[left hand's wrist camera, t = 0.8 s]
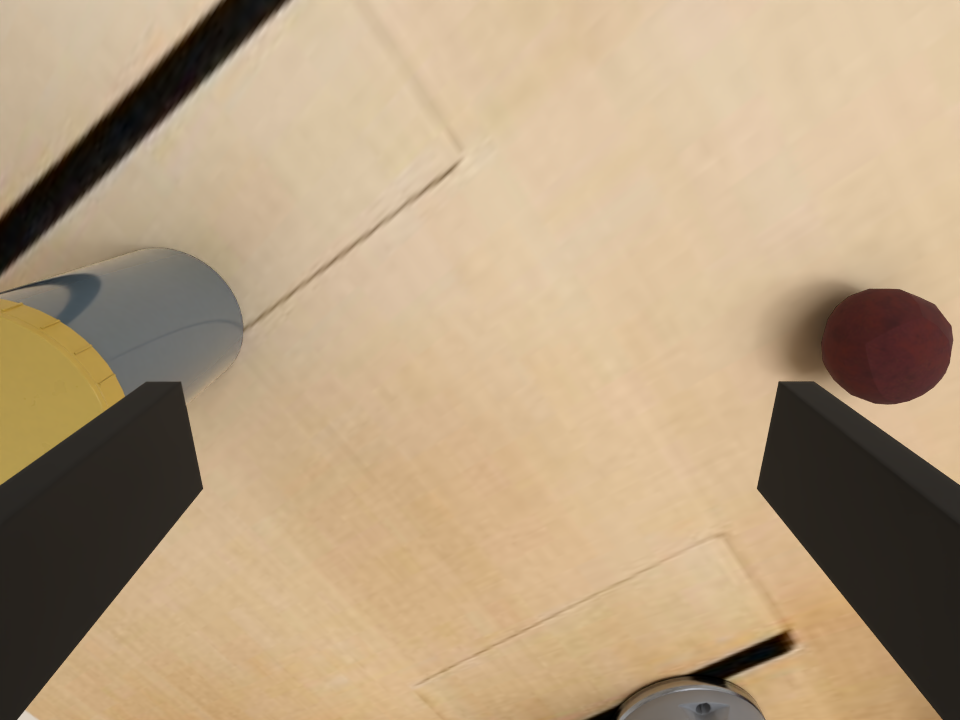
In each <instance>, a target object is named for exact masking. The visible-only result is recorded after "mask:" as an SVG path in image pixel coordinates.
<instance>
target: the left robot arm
mask: <svg viewBox="0 0 960 720" xmlns="http://www.w3.org/2000/svg"><path fill="white" fill-rule="evenodd" d="M202 489H203V486H202V481H201V476H200V471H199V466H198V461H197V457H196V452H195V447H194V442H193V437H192V432H191V427H190V422H189V417H188V413H187V408H186V403H185V398H184V393H183V388H182V383H181V382H145V383H143V384H142V385H141V386H139V387H138V388H136V389H135V390H134V391H132V392H131V393H129V394H128V395H127V396H125V397H124V398H122V399H121V400H120V401H118V402H117V403H115V404H114V405H112V406H111V407H110V408H108V409H107V410H105V411H104V412H103V413H101V414H100V415H98V416H97V417H96V418H94V419H93V420H91V421H90V422H89V423H87V424H86V425H84V426H83V427H81V428H80V429H79V430H77V431H76V432H74V433H73V434H72V435H70V436H69V437H67V438H66V439H65V440H63V441H62V442H60V443H59V444H58V445H56V446H55V447H53V448H52V449H51V450H49V451H48V452H46V453H45V454H43V455H42V456H41V457H39V458H38V459H36V460H35V461H34V462H32V463H31V464H29V465H28V466H27V467H25V468H24V469H22V470H21V471H20V472H18V473H17V474H15V475H14V476H12V477H11V478H10V479H8V480H7V481H5V482H4V483H3V484H1V485H0V720H17V719H18V718H19V717H20V715H21V714H22V713H23V712H24V710H25V709H26V708H27V707H28V705H29V704H30V703H31V702H32V701H33V699H34V698H35V697H36V696H37V694H38V693H39V692H40V691H41V689H42V688H43V687H44V686H45V684H46V683H47V682H48V681H49V679H50V678H51V677H52V676H53V674H54V673H55V672H56V671H57V669H58V668H59V667H60V666H61V665H62V663H63V662H64V661H65V660H66V658H67V657H68V656H69V655H70V653H71V652H72V651H73V650H74V648H75V647H76V646H77V645H78V643H79V642H80V641H81V640H82V638H83V637H84V636H85V635H86V633H87V632H88V631H89V630H90V628H91V627H92V626H93V625H94V624H95V622H96V621H97V620H98V619H99V617H100V616H101V615H102V614H103V612H104V611H105V610H106V609H107V607H108V606H109V605H110V604H111V602H112V601H113V600H114V599H115V597H116V596H117V595H118V594H119V592H120V591H121V590H122V589H123V587H124V586H125V585H126V584H127V583H128V581H129V580H130V579H131V578H132V576H133V575H134V574H135V573H136V571H137V570H138V569H139V568H140V566H141V565H142V564H143V563H144V561H145V560H146V559H147V558H148V556H149V555H150V554H151V553H152V551H153V550H154V549H155V548H156V546H157V545H158V544H159V543H160V542H161V540H162V539H163V538H164V537H165V535H166V534H167V533H168V532H169V530H170V529H171V528H172V527H173V525H174V524H175V523H176V522H177V520H178V519H179V518H180V517H181V515H182V514H183V513H184V512H185V510H186V509H187V508H188V507H189V506H190V504H191V503H192V502H193V501H194V499H195V498H196V497H197V496H198V494H199V493H200V492H201V491H202ZM757 489H758V491H759V492H760V493H761V494H762V496H763V497H764V498H765V499H766V501H767V502H768V503H769V504H770V506H771V507H772V508H773V509H774V510H775V512H776V513H777V514H778V515H779V517H780V518H781V519H782V520H783V522H784V523H785V524H786V525H787V527H788V528H789V529H790V530H791V532H792V533H793V534H794V535H795V537H796V538H797V539H798V540H799V542H800V543H801V544H802V545H803V546H804V548H805V549H806V550H807V551H808V553H809V554H810V555H811V556H812V558H813V559H814V560H815V561H816V563H817V564H818V565H819V566H820V568H821V569H822V570H823V571H824V573H825V574H826V575H827V576H828V578H829V579H830V580H831V581H832V583H833V584H834V585H835V586H836V587H837V589H838V590H839V591H840V592H841V594H842V595H843V596H844V597H845V599H846V600H847V601H848V602H849V604H850V605H851V606H852V607H853V609H854V610H855V611H856V612H857V614H858V615H859V616H860V617H861V619H862V620H863V621H864V622H865V624H866V625H867V626H868V627H869V628H870V630H871V631H872V632H873V633H874V635H875V636H876V637H877V638H878V640H879V641H880V642H881V643H882V645H883V646H884V647H885V648H886V650H887V651H888V652H889V653H890V655H891V656H892V657H893V658H894V660H895V661H896V662H897V663H898V665H899V666H900V667H901V668H902V669H903V671H904V672H905V673H906V674H907V676H908V677H909V678H910V679H911V681H912V682H913V683H914V684H915V686H916V687H917V688H918V689H919V691H920V692H921V693H922V694H923V696H924V697H925V698H926V699H927V701H928V702H929V703H930V704H931V705H932V707H933V708H934V709H935V710H936V712H937V713H938V714H939V715H940V717H941V718H942V719H943V720H960V485H959V484H957V483H956V482H955V481H953V480H952V479H950V478H949V477H948V476H946V475H945V474H943V473H942V472H940V471H939V470H938V469H936V468H935V467H933V466H932V465H931V464H929V463H928V462H926V461H925V460H924V459H922V458H921V457H919V456H918V455H917V454H915V453H914V452H912V451H911V450H909V449H908V448H907V447H905V446H904V445H902V444H901V443H900V442H898V441H897V440H895V439H894V438H893V437H891V436H890V435H888V434H887V433H886V432H884V431H883V430H881V429H880V428H879V427H877V426H876V425H874V424H873V423H871V422H870V421H869V420H867V419H866V418H864V417H863V416H862V415H860V414H859V413H857V412H856V411H855V410H853V409H852V408H850V407H849V406H848V405H846V404H845V403H843V402H842V401H840V400H839V399H838V398H836V397H835V396H833V395H832V394H831V393H829V392H828V391H826V390H825V389H824V388H822V387H821V386H819V385H818V384H817V383H815V382H779V383H778V388H777V393H776V398H775V403H774V408H773V413H772V417H771V422H770V427H769V432H768V437H767V442H766V447H765V452H764V457H763V461H762V466H761V471H760V476H759V481H758V486H757Z"/></svg>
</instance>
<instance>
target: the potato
mask: <svg viewBox="0 0 960 720" xmlns="http://www.w3.org/2000/svg"><path fill="white" fill-rule="evenodd" d="M821 344H822V357H823V362H824V364H825V367H826V368H827V370H828V372H829V373H830V375H831V376H832V378H833V379H834V380H835V381H836V382H837V383H838V384H839V385H840V386H841V387H842V388H844V389H845V390H846V391H847V392H848V393H850V394H851V395H853V396H856V397H859V398H861V399H864V400H867V401H869V402H872V403H875V404H898V403H902V402H907V401H910V400H912V399H915V398H917V397H919V396H922V395H923V394H925V393H926V392H928V391H929V390H931V389H932V388H933V387H934V386H935V385H936V384H937V383H938V382H939V381H940V380H941V379H942V377H943V376H944V374H945V373H946V371H947V368H948V366H949V363H950V357H951V350H952V344H953V335H952V327H951V325H950V324H949V322H948V321H947V320H946V318H945V317H944V316H943V314H942V313H941V312H940V310H939V309H938V308H937V307H936V305H935V304H933V303H931V302H929V301H926V300H924V299H922V298H920V297H918V296H915V295H913V294H910V293H908V292H905V291H903V290H900V289H868V290H865V291H862V292H859V293H856V294H854V295H851V296H849V297H847V298H846V299H845V300H844V301H843V302H841V303H840V304H839V305H838V306H837V307H836V308H835V309H834V311H833V312H832V314H831V315H830V317H829V318H828V321H827V324H826V328H825V331H824V335H823V338H822V342H821Z"/></svg>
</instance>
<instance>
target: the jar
mask: <svg viewBox="0 0 960 720" xmlns="http://www.w3.org/2000/svg"><path fill="white" fill-rule="evenodd" d="M0 299H4V300H9V301H13V302H16V303H20V302H21V303H23V304H24V305H26V306H29V307H32V308H34V309H37V310H40V311H42V312H44V313H46V314H47V315H49V316H51V317H53V318H55V319H57V320H58V319H59V320H60V322H62V323H63V324H65V325H66V326H68V327H70V328H71V329H72V330H74V331H75V332H76V333H77V334H79V335H80V336H81V337H82V338H84V339H85V340H86V341H87V342H88V343H89V344H91V345H92V347H93V348H94V349H95V350H96V351H97V352H98V353H99V354H100V356H101V357H102V358H103V359H104V360H105V362H106V363H107V364H108V366H109V367H110V369H111V370H112V372H113V373H114V374H115V375H116V378H117V380H118V382H119V384H120V386H121V388H122V390H123V392H124V395H125V396H127V395H128V394H129V393H131V392H132V391H134V390H135V389H136V388H138V387H139V386H141V385H142V384H143V383H145V382H181V383H182V388H183V393H184V398H185V403H186V406H187V405H188V404H189V403H190V402H191V401H192V400H193V399H195V398H196V397H197V396H198V395H199V394H200V393H201V392H202V391H204V390H205V389H206V388H207V387H208V386H209V385H210V384H211V383H213V382H214V381H215V380H216V379H217V378H218V377H219V376H220V375H222V374H223V373H224V372H225V371H226V370H227V369H228V368H229V367H230V366H231V365H232V363H233V362H234V360H235V359H236V357H237V355H238V353H239V351H240V347H241V344H242V339H243V321H242V315H241V311H240V308H239V305H238V303H237V300H236V298H235V296H234V295H233V293H232V291H231V289H230V288H229V287H228V285H227V284H226V282H225V281H224V280H223V279H222V278H221V277H220V276H219V275H218V274H217V273H216V272H215V271H214V270H213V269H212V268H210V267H209V266H208V265H206V264H205V263H203V262H202V261H200V260H198V259H197V258H195V257H193V256H191V255H188V254H186V253H183V252H180V251H176V250H173V249H166V248H147V249H141V250H137V251H133V252H130V253H127V254H124V255H120V256H117V257H114V258H111V259H107V260H104V261H101V262H98V263H94V264H91V265H88V266H85V267H81V268H78V269H75V270H72V271H68V272H65V273H62V274H59V275H55V276H52V277H49V278H46V279H42V280H39V281H36V282H33V283H30V284H26V285H23V286H20V287H17V288H13V289H10V290H7V291H4V292H0Z"/></svg>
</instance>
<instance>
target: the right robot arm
mask: <svg viewBox="0 0 960 720" xmlns="http://www.w3.org/2000/svg"><path fill="white" fill-rule="evenodd" d="M611 720H765V718H764V716H763V714H762V712H761V710H760V708H759V706H758V704H757V703H756V701H755V700H754V699H753V697H751V696H750V695H749V694H748V693H747V692H746V691H745V690H743V689H742V688H740V687H738V686H736V685H734V684H732V683H730V682H727V681H724V680H720V679H716V678H711V677H701V676H689V677H679V678H673V679H668V680H664V681H661V682H658V683H655V684H653V685H650V686H648V687H646V688H644V689H642V690H640V691H639V692H637V693H635V694H634V695H633V696H631V697H630V698H629V699H627V700H626V701H625V702H624V703H623V704H622V705H621V706H620V707H619V708H618V710H617V711H616V712H615V714H614V716H613V717H612V719H611Z"/></svg>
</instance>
